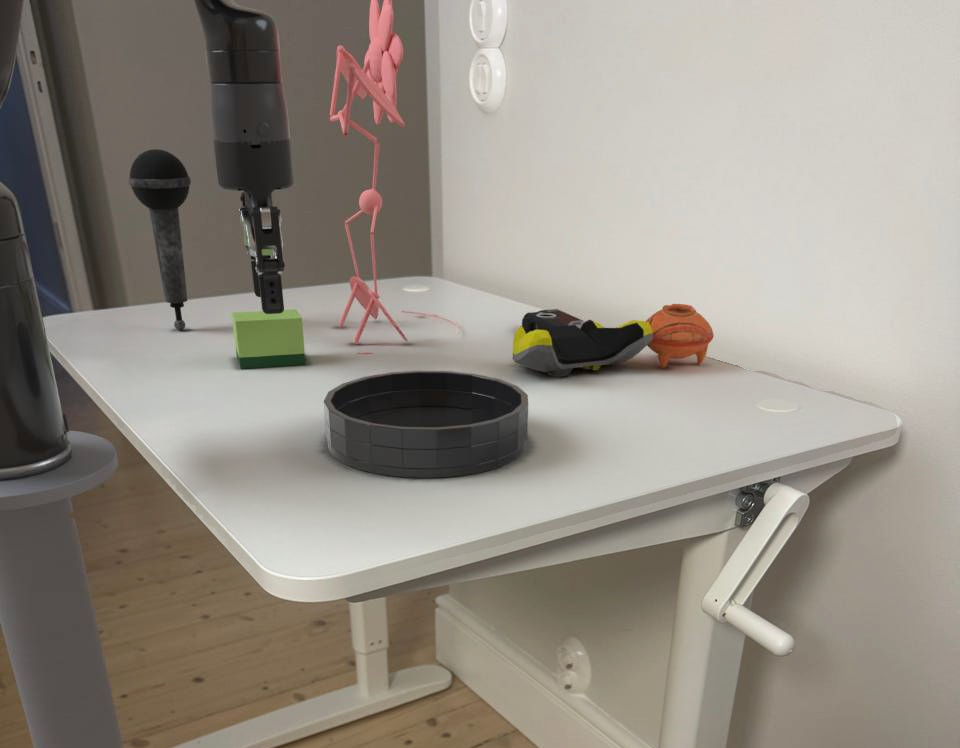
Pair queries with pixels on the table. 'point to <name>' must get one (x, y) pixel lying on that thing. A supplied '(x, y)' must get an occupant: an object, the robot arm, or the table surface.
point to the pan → (426, 423)
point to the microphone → (164, 217)
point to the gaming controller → (579, 346)
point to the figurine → (382, 89)
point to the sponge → (268, 339)
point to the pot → (679, 333)
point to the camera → (549, 319)
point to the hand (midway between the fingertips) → (269, 304)
